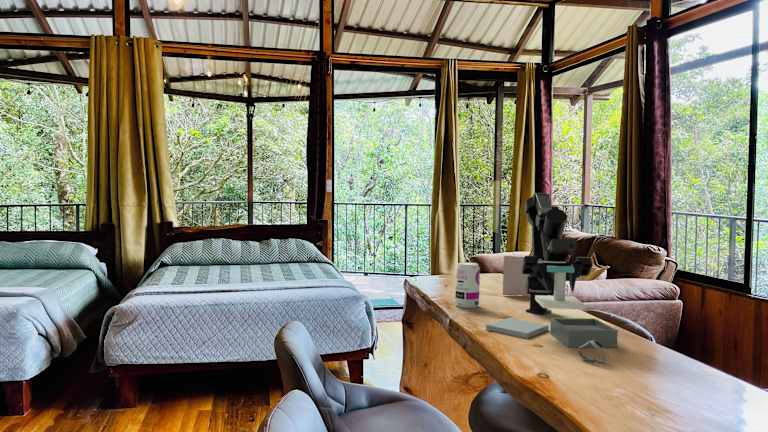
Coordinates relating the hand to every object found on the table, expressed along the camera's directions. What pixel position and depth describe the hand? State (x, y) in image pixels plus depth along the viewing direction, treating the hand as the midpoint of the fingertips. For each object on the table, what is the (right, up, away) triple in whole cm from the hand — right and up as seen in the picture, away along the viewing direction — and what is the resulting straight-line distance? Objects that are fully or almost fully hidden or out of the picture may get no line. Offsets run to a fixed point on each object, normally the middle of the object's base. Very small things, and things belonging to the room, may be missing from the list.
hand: (560, 290), depth 146 cm
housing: (+6, -14, -1) cm, 15 cm away
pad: (-10, -13, +10) cm, 19 cm away
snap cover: (0, -4, +2) cm, 4 cm away
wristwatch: (+1, -15, -18) cm, 23 cm away
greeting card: (+3, -11, +62) cm, 63 cm away
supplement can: (-19, -12, +42) cm, 47 cm away
